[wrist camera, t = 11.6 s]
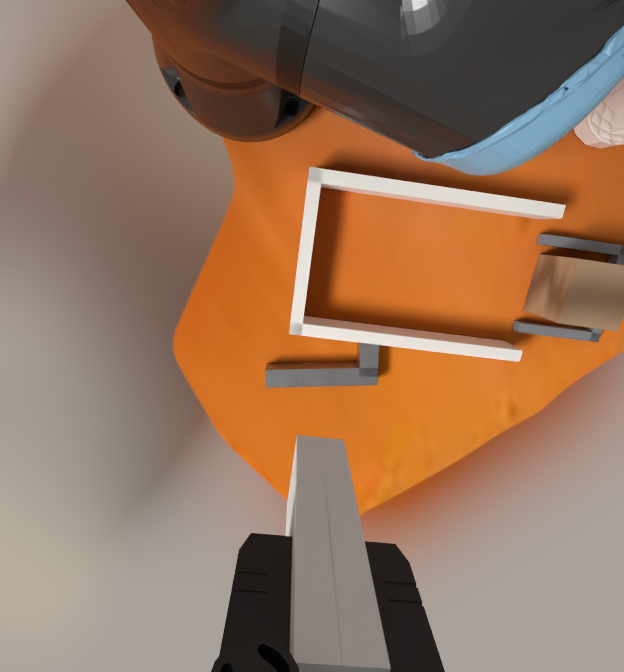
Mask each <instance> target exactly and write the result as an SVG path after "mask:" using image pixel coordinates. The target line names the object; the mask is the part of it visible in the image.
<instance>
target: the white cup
mask: <svg viewBox="0 0 624 672" xmlns="http://www.w3.org/2000/svg"><path fill="white" fill-rule="evenodd" d="M574 131H575V134H576V136H577V137H578V138H579V139H580V140H581V141H582V142H583V143H584V144H585V145H588V146H592V147H597V148H606V147H611V146H615V145H621V144H624V77H623V78H622V79H621V80H620V82H619V83H618V84H617V85H616V86H615V87H614V89H613V90H612V91H611V92H610V93H609V94H608V95H607V96H606V98H605V99H604V100H603V101H602V102H601V103H600V104H599V105H598V106H597V107H596V108H595V109H594V110H593V111H592V112H591V113H590V114H589V115H588V116H587V117H585V118H584V119H583V120H582V121H581V122H580V123H579V124H578V125H577V126H576V127H574Z"/></svg>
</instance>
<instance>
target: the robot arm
mask: <svg viewBox="0 0 624 672" xmlns="http://www.w3.org/2000/svg"><path fill="white" fill-rule="evenodd" d="M126 2H127V3H128V4H129V6H130V7H131V8H132V9H133V11H134V12H135V13H136V15H137V16H138V17H139V18H140V20H141V21H142V22H143V23H144V25H145V26H146V27H147V28H148V30H149V31H150V32H151V34H152V41H153V47H154V52H155V55H156V59H157V62H158V65H159V68H160V70H161V73H162V75H163V77H164V79H165V81H166V83H167V85H168V87H169V89H170V90H171V92H172V93H173V95H174V97H175V98H176V99H177V101H178V102H179V103H180V104H181V105H182V106H183V108H185V110H186V111H187V112H188V113H189V114H190V115H191V116H192V117H193V118H194V119H195V120H196V121H198V122H199V123H200V124H201V125H203V126H204V127H205V128H207V129H209V130H210V131H212V132H214V133H216V134H218V135H220V136H222V137H225V138H228V139H231V140H235V141H242V142H260V141H266V140H270V139H273V138H276V137H279V136H281V135H283V134H285V133H287V132H288V131H290V130H292V129H293V128H294V127H296V126H297V125H298V124H299V123H301V122H302V121H303V120H304V119H305V118H306V117H307V116H308V114H309V113H310V112H311V111H312V109H313V108H314V106H315V105H317V106H319V107H322V108H324V109H326V110H328V111H330V112H332V113H334V114H336V115H339V116H341V117H343V118H345V119H347V120H349V121H351V122H353V123H356V124H358V125H360V126H362V127H364V128H366V129H368V130H370V131H373V132H375V133H377V134H379V135H381V136H383V137H385V138H388V139H390V140H392V141H394V142H396V143H398V144H400V145H402V146H405V147H407V148H409V149H411V150H412V153H413V154H414V155H415V156H416V157H418V158H420V159H422V160H424V161H427V162H428V161H430V162H434V163H441V164H443V165H446V166H448V167H451V168H453V169H456V170H458V171H460V172H463V173H466V174H469V175H485V176H487V175H495V174H499V173H502V172H505V171H508V170H511V169H513V168H516V167H518V166H520V165H522V164H524V163H526V162H527V161H529V160H531V159H533V158H534V157H536V156H538V155H539V154H541V153H542V152H544V151H545V150H547V149H548V148H549V147H551V146H552V145H553V144H555V143H556V142H557V141H559V140H560V139H561V138H562V137H564V136H565V135H566V134H567V133H569V132H570V131H571V130H572V129H573V128H574V127H576V126H577V125H578V124H579V123H580V122H581V121H582V120H583V119H584V118H585V117H587V116H588V115H589V114H590V113H591V112H592V111H593V110H594V109H595V108H596V107H597V106H598V105H599V104H600V103H601V102H602V101H603V100H604V99H605V98H606V96H607V95H608V94H609V93H610V92H611V91H612V90H613V89H614V87H615V86H616V85H617V84H618V83H619V82H620V80H621V79H622V78H623V77H624V0H126ZM211 672H445V671H444V668H443V665H442V661H441V659H440V655H439V652H438V649H437V646H436V643H435V640H434V637H433V634H432V631H431V628H430V625H429V622H428V618H427V615H426V612H425V609H424V607H423V606H422V600H421V597H420V594H419V591H418V588H416V582H415V579H414V576H413V572H412V569H411V567H410V563H409V562H408V560H407V559H406V558H405V556H404V555H403V554H402V553H401V551H400V550H399V548H398V547H397V546H396V544H389V543H378V542H366V541H364V536H363V531H362V526H361V522H360V517H359V512H358V507H357V502H356V497H355V492H354V487H353V483H352V478H351V473H350V468H349V463H348V458H347V453H346V449H345V444H344V440H339V439H329V438H319V437H310V436H300V435H297V438H296V446H295V453H294V460H293V467H292V475H291V482H290V489H289V496H288V504H287V519H286V536H280V535H268V534H255V533H251V534H250V535H249V537H248V538H247V540H246V541H245V542H244V544H243V545H242V547H241V548H240V549H239V553H238V559H237V564H236V569H235V575H234V580H233V585H232V591H231V596H230V601H229V607H228V612H227V617H226V623H225V628H224V633H223V639H222V644H221V649H220V655H219V657H218V659H217V660H216V661H215V663H214V666H213V668H212V671H211Z"/></svg>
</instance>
